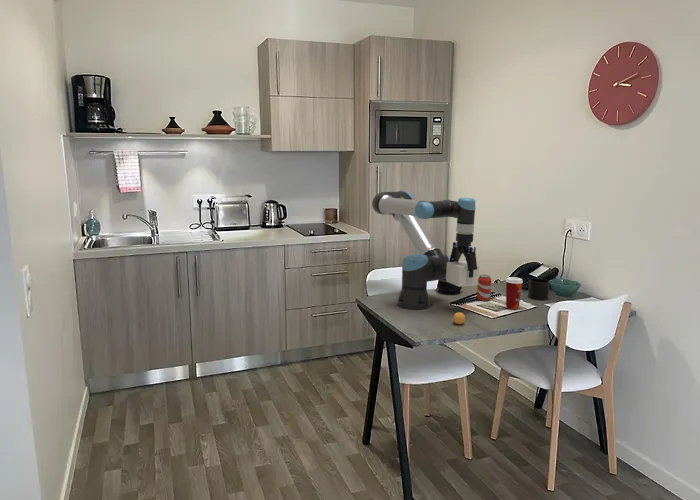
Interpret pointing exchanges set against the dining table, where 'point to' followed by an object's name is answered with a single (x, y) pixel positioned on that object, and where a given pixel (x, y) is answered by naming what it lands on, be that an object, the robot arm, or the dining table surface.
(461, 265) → the plain off-white cube
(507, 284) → the paper cup
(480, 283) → the beverage can
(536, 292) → the mug
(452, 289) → the container
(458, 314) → the ball
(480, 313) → the dining table surface
